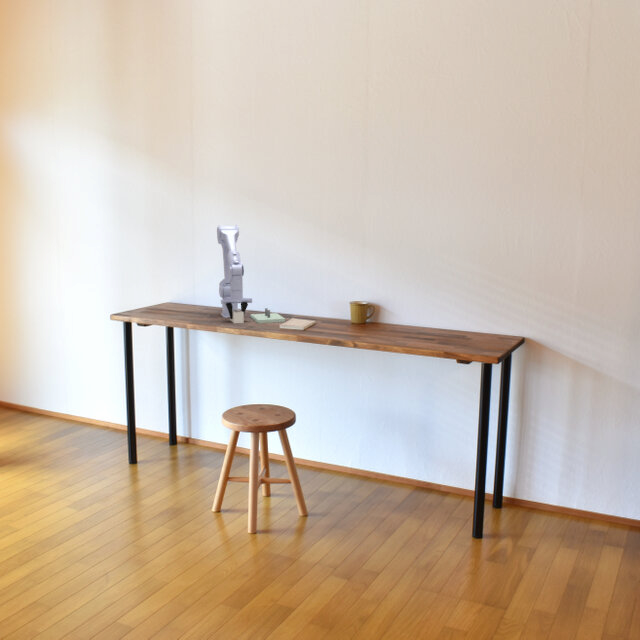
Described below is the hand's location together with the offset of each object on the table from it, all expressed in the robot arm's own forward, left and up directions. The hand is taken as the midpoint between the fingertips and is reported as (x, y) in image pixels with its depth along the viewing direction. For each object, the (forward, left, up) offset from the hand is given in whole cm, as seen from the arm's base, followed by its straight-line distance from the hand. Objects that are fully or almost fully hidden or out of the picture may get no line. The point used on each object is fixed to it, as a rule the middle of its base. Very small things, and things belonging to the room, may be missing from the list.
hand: (236, 318), depth 368 cm
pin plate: (-1, +15, -1) cm, 15 cm away
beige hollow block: (0, 0, -1) cm, 1 cm away
